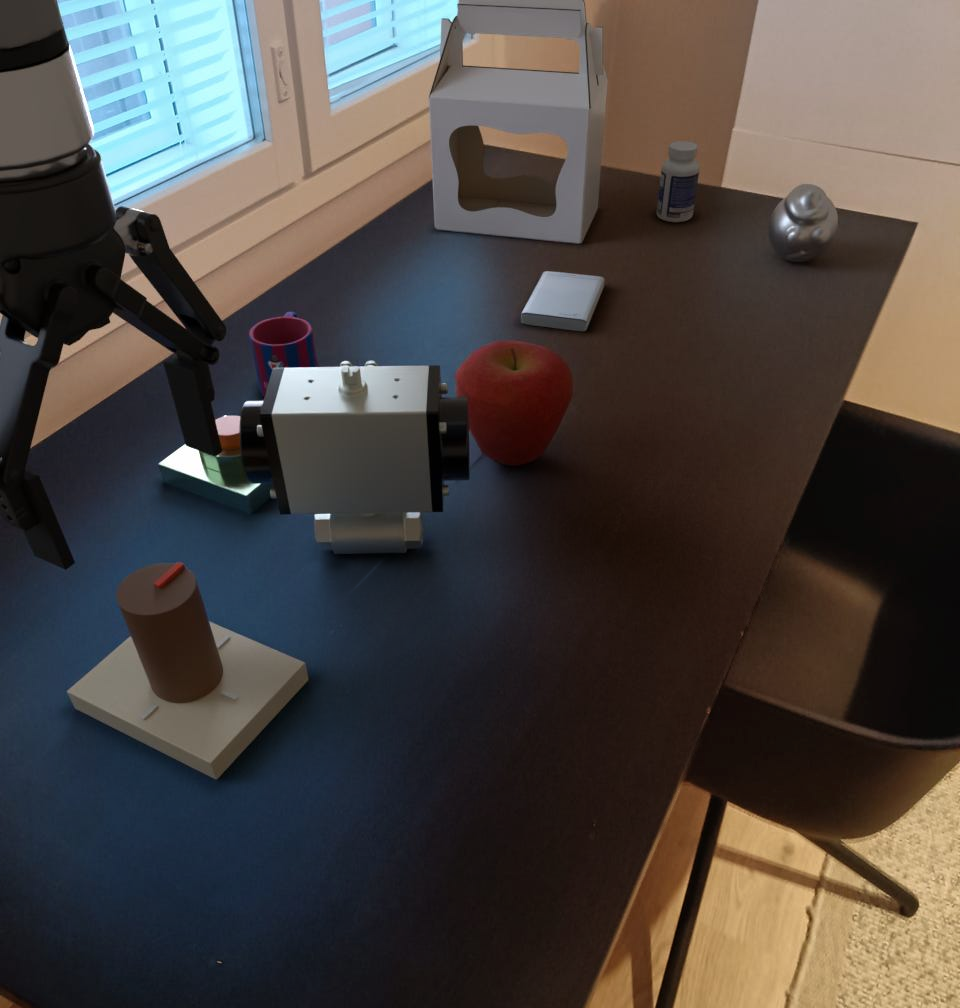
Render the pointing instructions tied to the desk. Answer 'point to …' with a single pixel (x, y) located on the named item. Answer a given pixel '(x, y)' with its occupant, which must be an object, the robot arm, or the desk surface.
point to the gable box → (517, 124)
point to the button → (229, 432)
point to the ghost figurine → (803, 224)
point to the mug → (281, 346)
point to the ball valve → (357, 450)
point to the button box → (214, 477)
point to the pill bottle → (678, 183)
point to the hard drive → (563, 301)
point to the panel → (200, 723)
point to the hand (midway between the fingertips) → (134, 500)
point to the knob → (171, 631)
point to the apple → (514, 398)
